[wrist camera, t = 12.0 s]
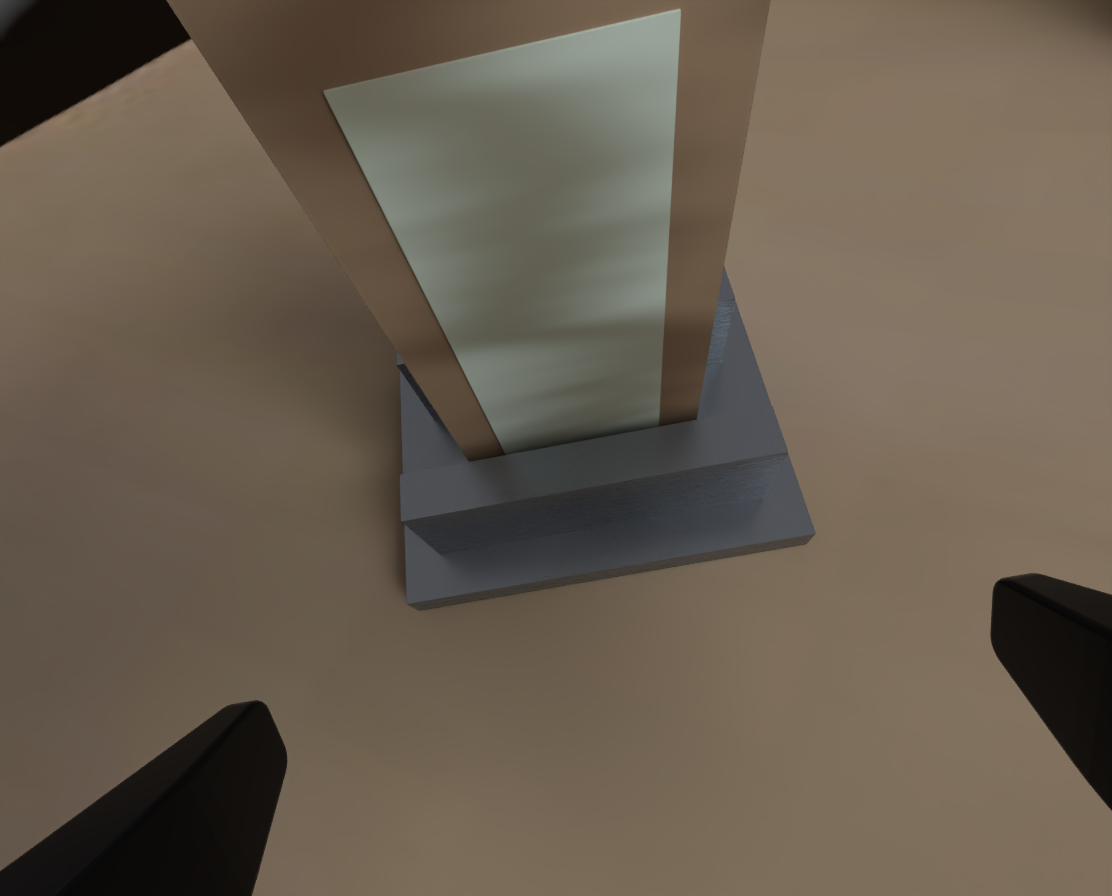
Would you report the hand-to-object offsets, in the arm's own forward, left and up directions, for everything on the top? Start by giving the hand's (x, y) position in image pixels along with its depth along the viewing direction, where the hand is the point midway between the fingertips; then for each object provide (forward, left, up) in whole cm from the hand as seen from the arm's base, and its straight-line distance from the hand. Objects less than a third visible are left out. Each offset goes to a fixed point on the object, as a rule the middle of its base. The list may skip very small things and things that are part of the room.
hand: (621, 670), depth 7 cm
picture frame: (+1, +7, -8) cm, 11 cm away
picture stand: (+2, +7, -9) cm, 11 cm away
